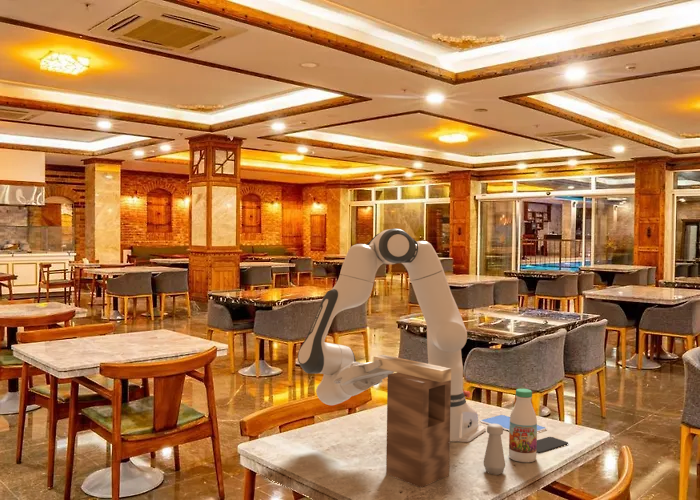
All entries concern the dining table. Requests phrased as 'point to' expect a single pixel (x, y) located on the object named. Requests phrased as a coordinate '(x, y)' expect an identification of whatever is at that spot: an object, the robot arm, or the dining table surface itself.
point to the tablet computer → (504, 422)
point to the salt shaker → (494, 450)
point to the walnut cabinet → (418, 429)
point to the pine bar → (414, 368)
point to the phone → (549, 444)
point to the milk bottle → (523, 428)
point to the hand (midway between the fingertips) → (386, 360)
